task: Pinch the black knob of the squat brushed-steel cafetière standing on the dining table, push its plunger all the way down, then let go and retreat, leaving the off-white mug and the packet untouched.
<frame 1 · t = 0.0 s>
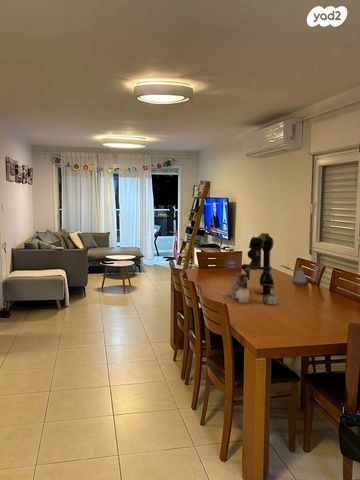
hand: (255, 280, 266), 15 cm above the table, fingers open, 9 cm apart
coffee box: (238, 297, 282), on the table
coffee pot: (293, 284, 330), on the table
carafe: (271, 304, 266), on the table
plunger: (272, 291, 265), point 9 cm above the table, slide at 0.0 cm
mug: (243, 301, 272), on the table
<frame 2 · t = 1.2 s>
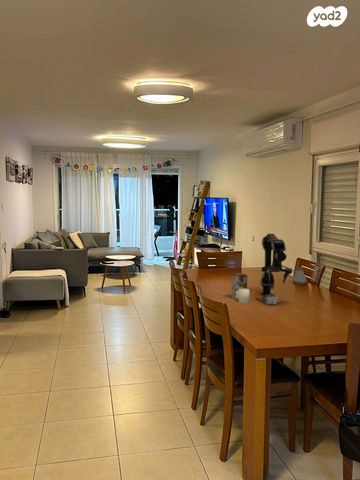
hand: (276, 283, 266), 13 cm above the table, fingers open, 9 cm apart
nothing on the table moved.
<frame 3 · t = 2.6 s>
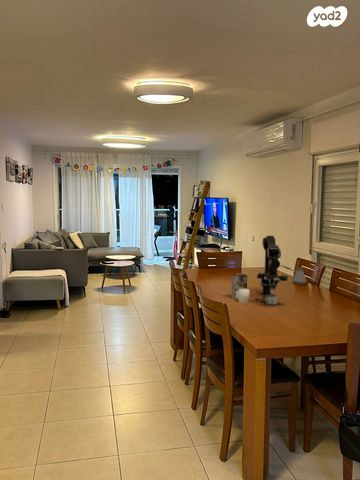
hand: (272, 290, 265), 9 cm above the table, fingers closed on plunger, 2 cm apart
plunger: (272, 291, 265), point 8 cm above the table, slide at 0.0 cm, touching gripper
everything else where it was.
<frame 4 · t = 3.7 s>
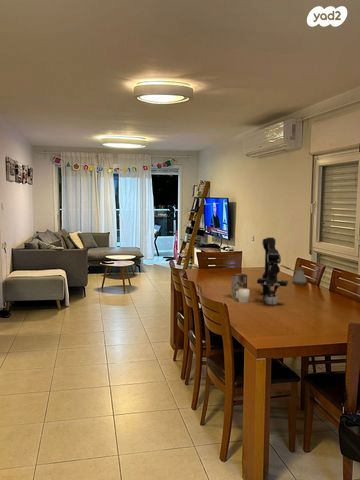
hand: (271, 295, 265), 6 cm above the table, fingers closed on plunger, 2 cm apart
plunger: (271, 296, 265), point 5 cm above the table, slide at 3.5 cm, touching gripper
everything else where it was.
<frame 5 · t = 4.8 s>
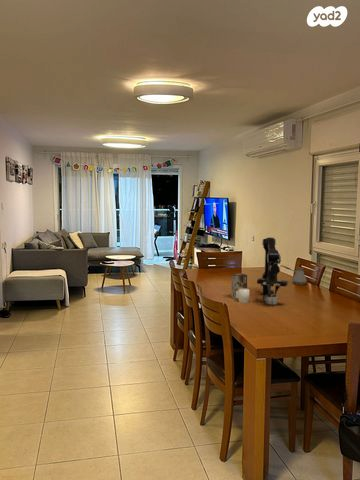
hand: (271, 295, 265), 6 cm above the table, fingers open, 4 cm apart
plunger: (271, 296, 265), point 5 cm above the table, slide at 3.5 cm
everything else where it was.
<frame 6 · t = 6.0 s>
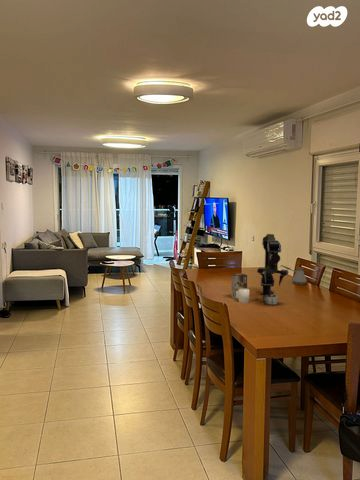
hand: (272, 284, 264), 13 cm above the table, fingers open, 9 cm apart
nothing on the table moved.
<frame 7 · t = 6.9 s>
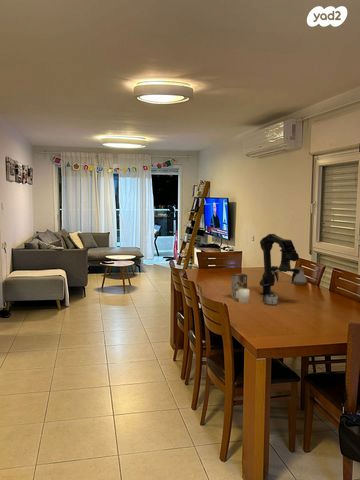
hand: (284, 282, 270), 13 cm above the table, fingers open, 9 cm apart
nothing on the table moved.
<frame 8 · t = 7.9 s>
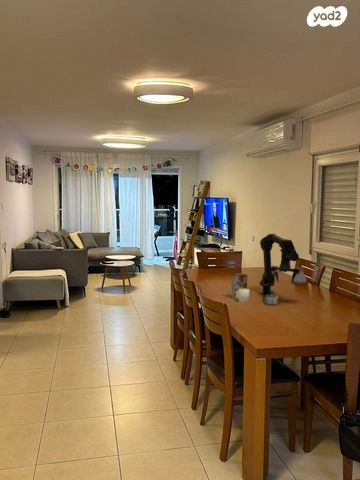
hand: (284, 282, 270), 13 cm above the table, fingers open, 9 cm apart
nothing on the table moved.
at the end: plunger slide at 3.5 cm; the gripper is holding nothing; mug moved 0.1 cm from its start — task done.
